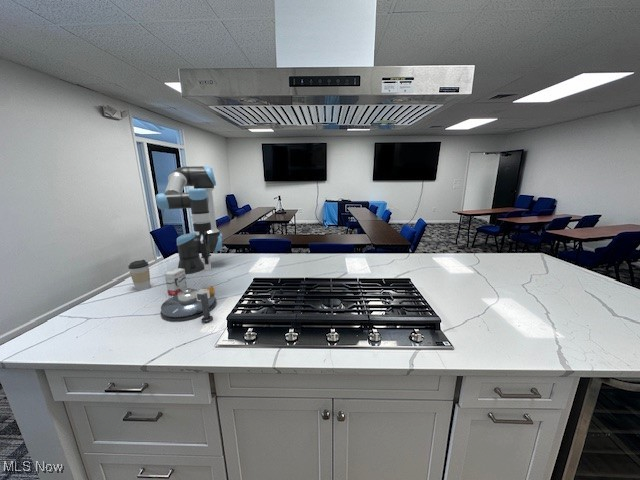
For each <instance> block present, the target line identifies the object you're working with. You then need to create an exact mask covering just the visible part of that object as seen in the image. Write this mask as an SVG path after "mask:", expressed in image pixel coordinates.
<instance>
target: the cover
mask: <svg viewBox="0 0 640 480" xmlns="http://www.w3.org/2000/svg"><path fill="white" fill-rule="evenodd" d="M197 291H198V289H195V288H188V289H185V290H183V291H181V292H180V293H178V301H179V304H180V305H190V304H193V303H195V302H197V298H196V292H197Z"/></svg>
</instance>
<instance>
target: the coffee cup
mask: <svg viewBox="0 0 640 480" xmlns="http://www.w3.org/2000/svg"><path fill="white" fill-rule="evenodd" d="M149 265H150V263H149V262H147V261H146V259H141V260H135V261H132V262H130V263H129V265H128V270H129V274H130V277H131V280H132V283H133V285H134V288H135V290H136V291H142V290H146V289H149V288H150V287H151V275H150V274H151V273H150V268H149Z"/></svg>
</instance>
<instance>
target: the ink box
mask: <svg viewBox="0 0 640 480" xmlns="http://www.w3.org/2000/svg"><path fill="white" fill-rule="evenodd" d="M164 277H165V283H166V288H167V294H168V295H169V296H176V295H178V293H180V292H181V291H183V290H185V289H189V288H188V284H187V277H186V274H185V269H181V268H178V267H175V268H173V269H172V270H169V271H167V272H165V273H164Z"/></svg>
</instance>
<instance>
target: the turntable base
mask: <svg viewBox="0 0 640 480" xmlns="http://www.w3.org/2000/svg"><path fill="white" fill-rule="evenodd" d="M217 301H218V300H217V298H216V297H215V303H214V305H213V306H212V307H211V308H209V310H210V312H211V311H213V310H214V309H215V308H216V307H217V304H218V302H217ZM160 317H161V319H162V320H164V321H166V322H170V323H171V322H173V323H175V322H177V323H178V322H186V321H187V322H188V321H191V320H195V319H197V318H200V317H204V316H203V312H202V313H200V314H197V315H194V316H190V317H185V318H168V317H165V316H164V315H162V312H161V311H160Z"/></svg>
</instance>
